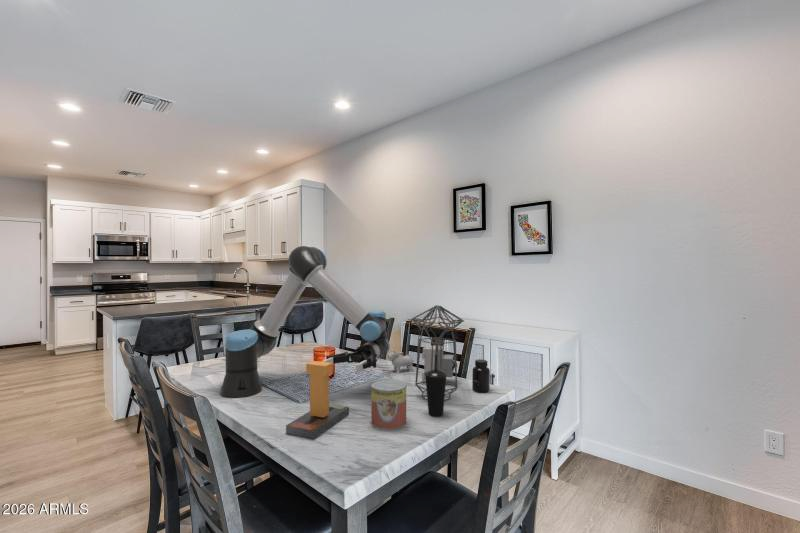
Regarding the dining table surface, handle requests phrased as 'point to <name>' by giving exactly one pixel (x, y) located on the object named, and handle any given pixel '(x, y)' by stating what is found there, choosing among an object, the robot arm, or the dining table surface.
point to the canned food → (388, 404)
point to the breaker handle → (319, 387)
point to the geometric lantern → (440, 309)
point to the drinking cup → (435, 390)
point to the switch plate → (316, 422)
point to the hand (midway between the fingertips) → (339, 367)
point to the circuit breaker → (447, 361)
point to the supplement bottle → (481, 377)
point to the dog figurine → (400, 360)
